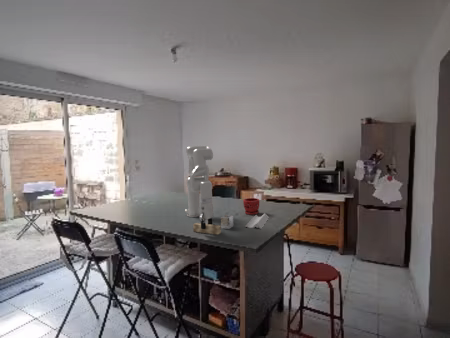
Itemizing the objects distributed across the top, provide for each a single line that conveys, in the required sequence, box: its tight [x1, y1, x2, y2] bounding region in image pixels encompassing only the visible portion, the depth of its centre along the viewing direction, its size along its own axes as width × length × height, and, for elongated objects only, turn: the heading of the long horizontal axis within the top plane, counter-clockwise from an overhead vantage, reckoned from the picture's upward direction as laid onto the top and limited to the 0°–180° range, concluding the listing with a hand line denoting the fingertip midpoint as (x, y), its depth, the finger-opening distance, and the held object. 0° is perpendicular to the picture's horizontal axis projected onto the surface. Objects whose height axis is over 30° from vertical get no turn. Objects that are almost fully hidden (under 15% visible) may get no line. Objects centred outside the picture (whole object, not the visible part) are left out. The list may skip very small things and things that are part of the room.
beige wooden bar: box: [192, 222, 222, 235], centre depth 181 cm, size 18×4×5 cm, turn 64°
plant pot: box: [242, 197, 260, 216], centre depth 230 cm, size 13×13×12 cm
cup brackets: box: [205, 214, 234, 230], centre depth 195 cm, size 22×8×8 cm, turn 66°
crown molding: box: [244, 213, 270, 229], centre depth 203 cm, size 31×12×4 cm, turn 162°
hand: (206, 227), depth 181 cm, fingers open, 9 cm apart
